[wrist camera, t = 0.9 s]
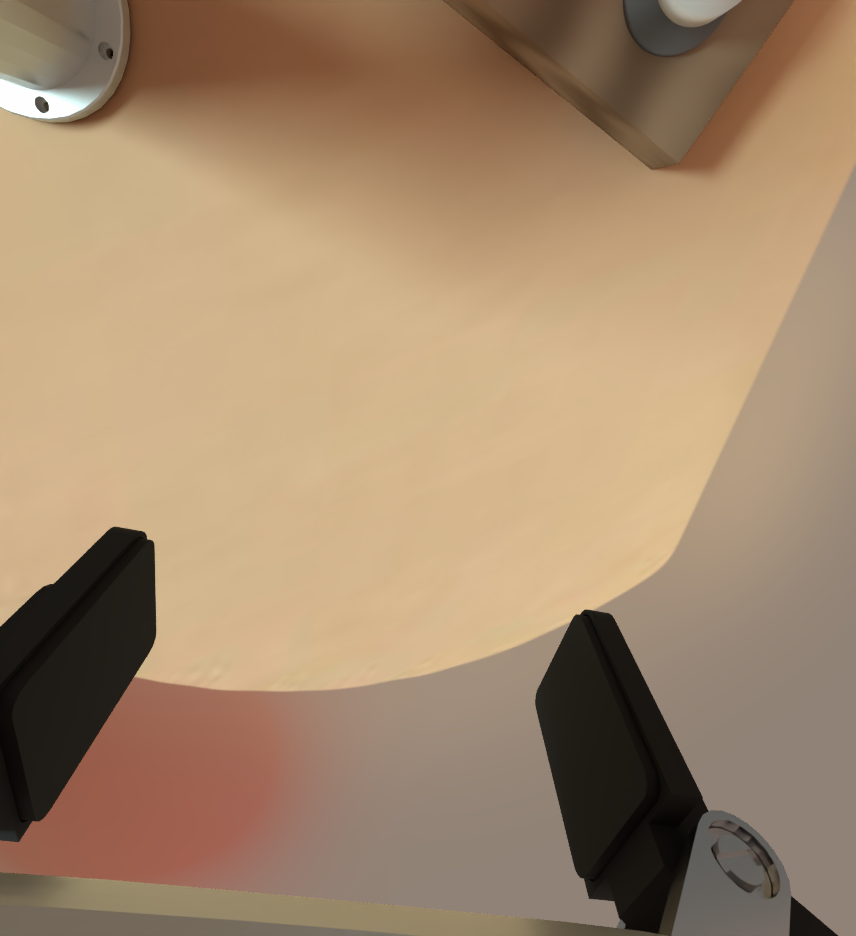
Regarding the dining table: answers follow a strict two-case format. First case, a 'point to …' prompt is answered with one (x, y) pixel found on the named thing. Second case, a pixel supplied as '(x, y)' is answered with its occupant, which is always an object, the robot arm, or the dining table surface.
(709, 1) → the button
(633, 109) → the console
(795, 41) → the dining table surface
